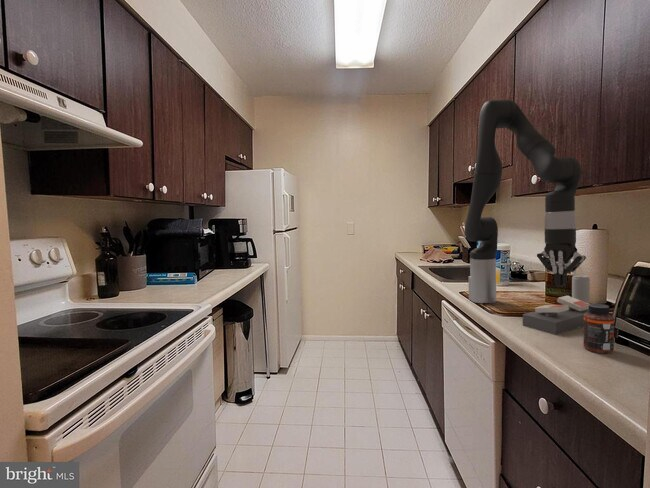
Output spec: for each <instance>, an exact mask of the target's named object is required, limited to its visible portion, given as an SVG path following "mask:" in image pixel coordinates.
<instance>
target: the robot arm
mask: <svg viewBox="0 0 650 488" xmlns="http://www.w3.org/2000/svg"><path fill="white" fill-rule="evenodd" d="M505 128H506V129H508V130H509V131H511V132H512V133H514V134H515V138H516V145H517V149H518V150H519V151H520V152H521V153H522V155H524V156H525V157H526V159H527V160H528V161H529V162H530V163H531V164H532V167H533V169H534V171H535V174H536V175H537V176H538V178H539V179H541V180H542V181H543V182H546V183H551V184H552V183H553V184H554V183H555V187H554V190H552V191H550V192H548V193H546V195H545V197H544V201H545V202H544V203H545V204H544V207H545V208H544V209H545V210H544V211H545V215H544V221H543V222H544V243H545V246H544V249H543V251H542V252H540V253H537V254H536V257H537V258H538V260H539V261H540V263H541V264H542V265H543V266H544V268H545V269H546V270H547V271H548V272H549V271H550V272H552V273H553V282H554V285H555V287H559V288H561V287H562V288H563V287H565V286H566V285H567V283H568V281H567V280H568V274H569V273H573V272H575V271H576V270H577V269H578V268H579V267H580V265H582V264H583V262H584V261H585V260H586V259H587V257H586V256H587V255H582V254H581V253H579V252H578V248H577V246H576V243H577V218H576V212H575V211H576V210H575V209H576V208H575V206H576V202H575V201H576V200H575V196H576V194H577V192H578V191H577V189H578V186H579V183H580V180H581V175H582V167H581V164H580V162H579V161H578V160H577V158H574V157H570V156H569V157H557V156H555V155H556V147H555V146H554V144H552V142H550V140H548V139H547V138H546V137H544V135H542V134H541V133H540V132H539V131H538V130H537V129H536V128H535V127H534V126H533V124H532V123H531V122H530V120H529V119H528V117H527V116H526V115H525V114H524V111H523V110H522V109H521V108H520V106H519V105H518V104H517V102H515V101H514V100H511V99H490V100H487V101H485V102H484V104H483V105H482V107H481V108H480V112H479V119H478V134H477V135H478V141H477V143H478V144H477V153H476V161H475V166H474V171H473V172H474V173H473V181H472V189H471V197H470V202H469V207H468V212H467V215H466V220H465V225H464V235H465V238H466V240H467V241H469V242H481V244H480V245H479V246H478V247H476V248H474V249H472V250H471V251H470V252H469V271H470V272H469V273H470V274H469V275H470V276H468V300H469V301H471V302H472V303H476V304H477V303H478V304H483V303H490V304H494V303H497V262H496V261H497V259H496V257H497V251H498V234H499V233H498V232H499V230H498V223H497V220H496V219H495V218H494V217H492V216H488V217H486V216H484V217H482V215H483V212H484V208H485V206H486V205H487V204H488V202H489V201H490V200H491V198H492V197H493V196H494V194H495V193H496V192H497V190H498V189H499V187H500V185H501V182H502V175H503V163H502V159H501V157H500V155H499V152H498V150H497V147H496V143H495V142H496V131H497V129H505ZM571 260H572V262H571Z"/></svg>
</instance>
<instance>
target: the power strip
mask: <svg viewBox="0 0 650 488" xmlns="http://www.w3.org/2000/svg"><path fill="white" fill-rule="evenodd" d="M561 305H564V304H561ZM586 312H589V309H587V310H583V311H578V310H576V309H573V308H571V307H569V310H566V311H562V312H535V310H534V311H531V312H530V311H529V312H526V313H523V314H522V326H524V327H528V328H531V329H534V330H535V329H536V330H537V331H541V332H545V333H548V334H551V335H555V336H556V335H560V334H563V333H567V332H569V331H572V330H573V331H574V330H576V329H579V328H584V314H585V313H586Z"/></svg>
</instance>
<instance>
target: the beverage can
mask: <svg viewBox="0 0 650 488" xmlns="http://www.w3.org/2000/svg"><path fill="white" fill-rule="evenodd" d="M590 281H591V280H590V276H589V275H587V274H586V275H585V274H573V275H572V277H571V297H573V298H575V299H578V300H580V301H583V302H585V303H588V304H590V297H591V295H590V285H591V283H590Z"/></svg>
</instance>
